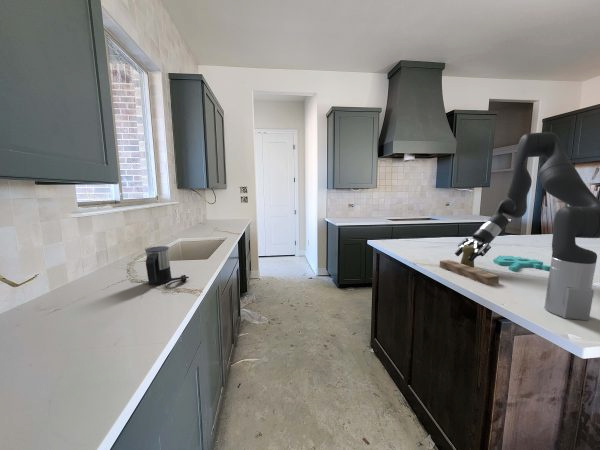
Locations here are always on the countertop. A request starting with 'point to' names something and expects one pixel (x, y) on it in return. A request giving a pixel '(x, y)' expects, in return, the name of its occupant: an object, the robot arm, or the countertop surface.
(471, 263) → the cork
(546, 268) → the turquoise toy gun
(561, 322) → the countertop surface
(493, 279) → the walnut plank
